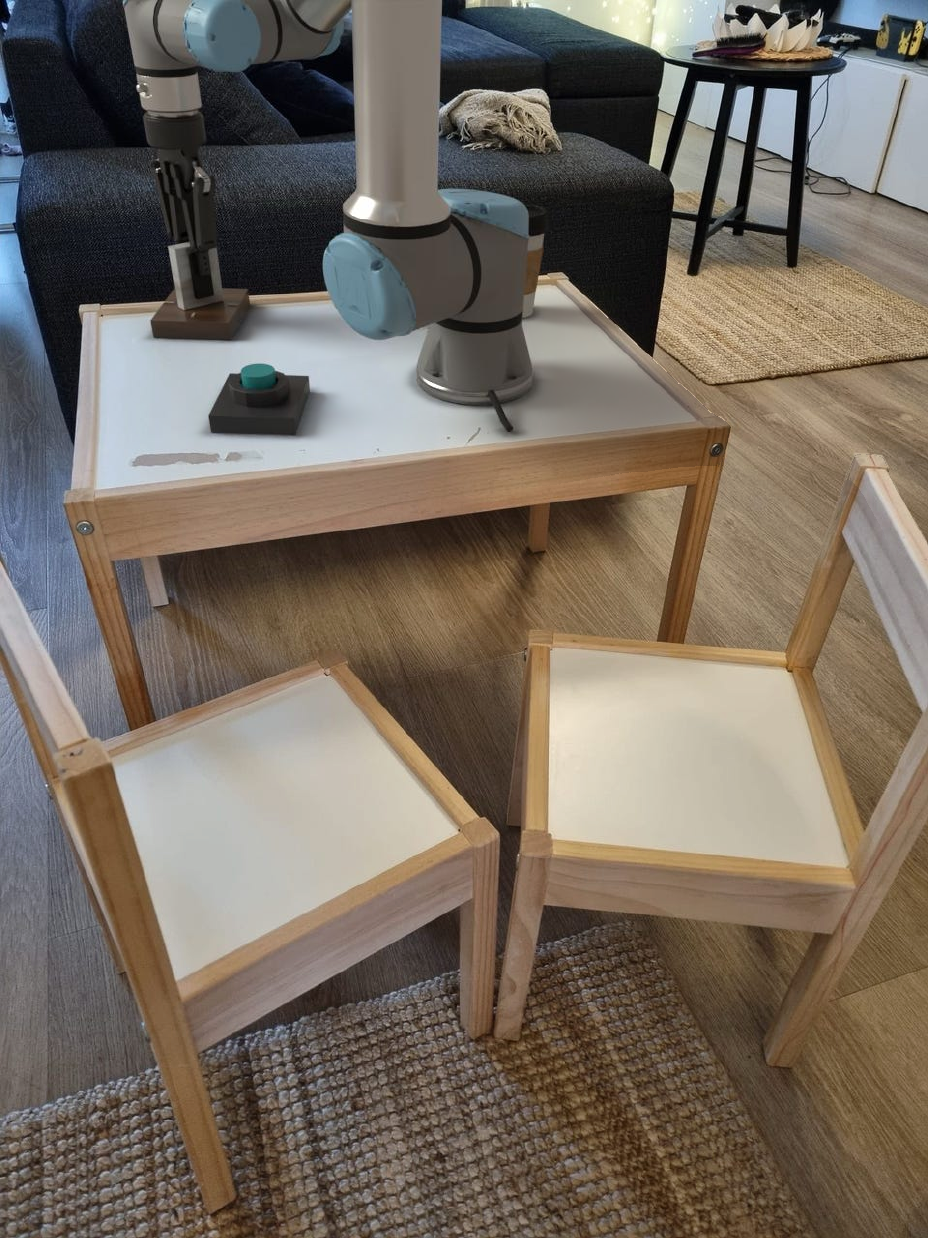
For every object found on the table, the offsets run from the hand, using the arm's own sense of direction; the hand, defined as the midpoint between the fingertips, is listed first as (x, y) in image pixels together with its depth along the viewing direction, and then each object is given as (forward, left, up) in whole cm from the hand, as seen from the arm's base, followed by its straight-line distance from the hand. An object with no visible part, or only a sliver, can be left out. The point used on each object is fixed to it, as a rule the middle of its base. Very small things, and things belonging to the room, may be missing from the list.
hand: (199, 293), depth 133 cm
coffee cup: (+8, -46, -4) cm, 47 cm away
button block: (-29, -14, -4) cm, 32 cm away
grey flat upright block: (0, 0, -1) cm, 1 cm away
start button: (-29, -14, 0) cm, 32 cm away
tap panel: (0, 0, -4) cm, 4 cm away
